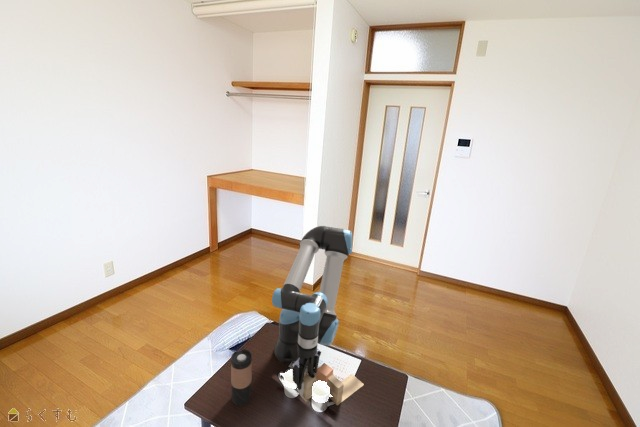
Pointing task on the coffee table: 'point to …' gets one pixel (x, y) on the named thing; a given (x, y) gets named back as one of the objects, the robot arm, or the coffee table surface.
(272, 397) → the coffee table surface
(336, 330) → the robot arm
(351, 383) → the wooden l-shaped block
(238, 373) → the travel mug
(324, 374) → the cube
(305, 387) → the wooden slider
